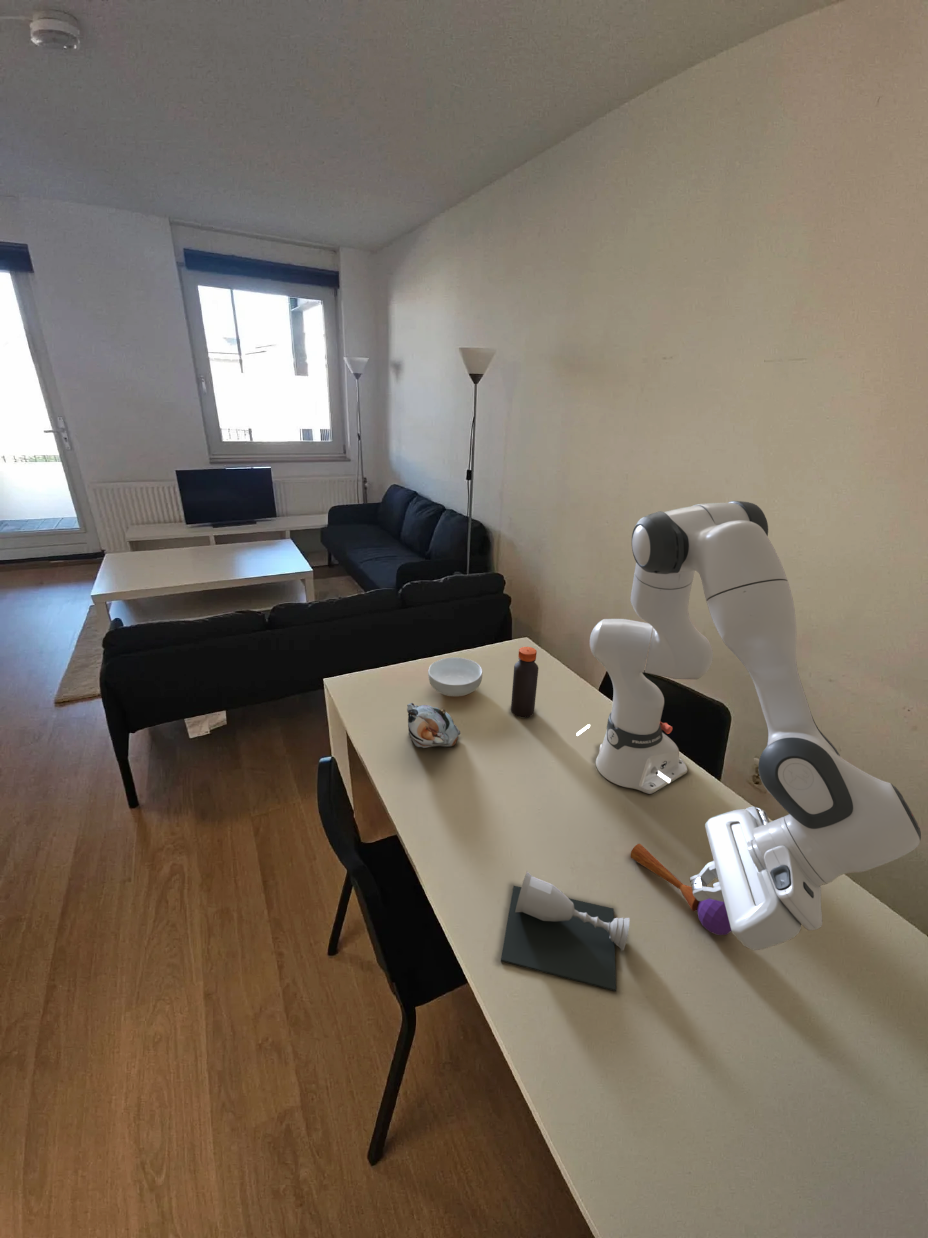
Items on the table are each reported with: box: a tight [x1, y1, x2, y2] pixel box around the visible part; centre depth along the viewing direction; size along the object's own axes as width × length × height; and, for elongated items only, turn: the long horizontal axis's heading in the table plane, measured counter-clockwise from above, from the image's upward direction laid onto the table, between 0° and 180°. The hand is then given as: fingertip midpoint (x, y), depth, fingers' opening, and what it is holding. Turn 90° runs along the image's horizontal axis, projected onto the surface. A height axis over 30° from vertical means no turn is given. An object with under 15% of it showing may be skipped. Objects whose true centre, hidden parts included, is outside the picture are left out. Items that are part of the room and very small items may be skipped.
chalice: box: [515, 870, 630, 951], centre depth 86 cm, size 7×7×18 cm
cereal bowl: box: [427, 656, 483, 697], centre depth 156 cm, size 17×17×7 cm
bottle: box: [510, 646, 539, 719], centre depth 143 cm, size 7×7×20 cm
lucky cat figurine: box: [406, 702, 461, 749], centre depth 130 cm, size 15×12×14 cm
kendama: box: [629, 843, 732, 936], centre depth 92 cm, size 6×6×20 cm
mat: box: [500, 885, 617, 992], centre depth 86 cm, size 18×14×1 cm
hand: (693, 889), depth 75 cm, fingers closed
